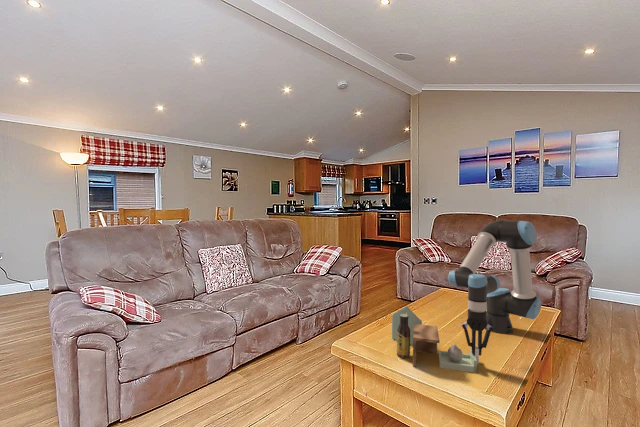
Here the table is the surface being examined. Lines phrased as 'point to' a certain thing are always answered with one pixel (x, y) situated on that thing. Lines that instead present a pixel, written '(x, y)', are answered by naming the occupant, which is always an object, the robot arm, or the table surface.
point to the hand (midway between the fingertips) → (476, 361)
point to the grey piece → (411, 321)
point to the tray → (464, 365)
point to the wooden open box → (424, 340)
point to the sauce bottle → (403, 337)
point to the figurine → (455, 353)
